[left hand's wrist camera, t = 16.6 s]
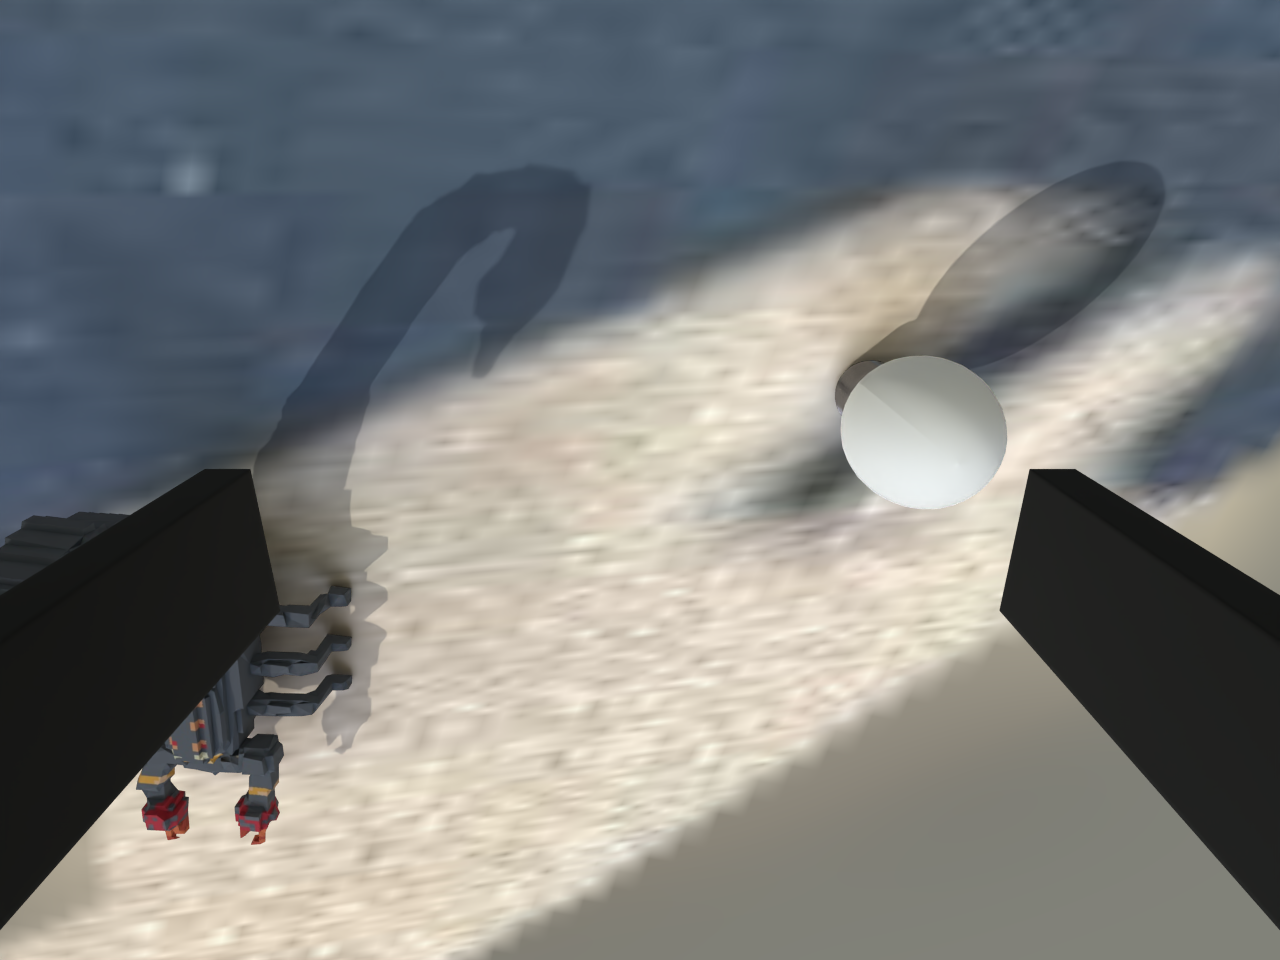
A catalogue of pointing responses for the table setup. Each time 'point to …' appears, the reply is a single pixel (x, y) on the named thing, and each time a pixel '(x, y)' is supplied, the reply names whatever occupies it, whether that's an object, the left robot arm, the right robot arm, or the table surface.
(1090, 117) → the table surface
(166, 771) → the toy
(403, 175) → the table surface
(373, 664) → the table surface
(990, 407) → the light bulb
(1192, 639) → the left robot arm
